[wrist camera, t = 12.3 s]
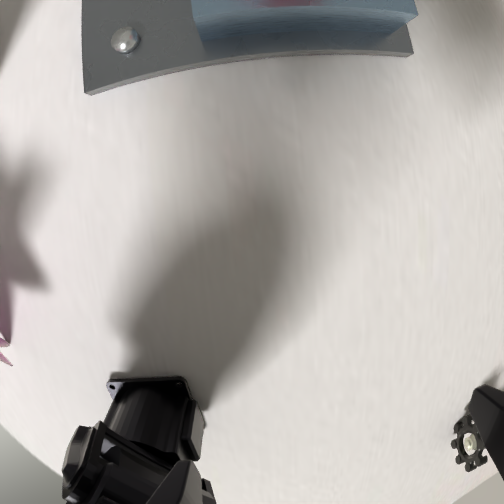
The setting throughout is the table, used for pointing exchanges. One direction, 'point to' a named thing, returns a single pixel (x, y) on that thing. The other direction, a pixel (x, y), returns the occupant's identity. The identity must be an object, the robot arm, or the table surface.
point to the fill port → (230, 34)
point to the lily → (3, 343)
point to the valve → (468, 444)
